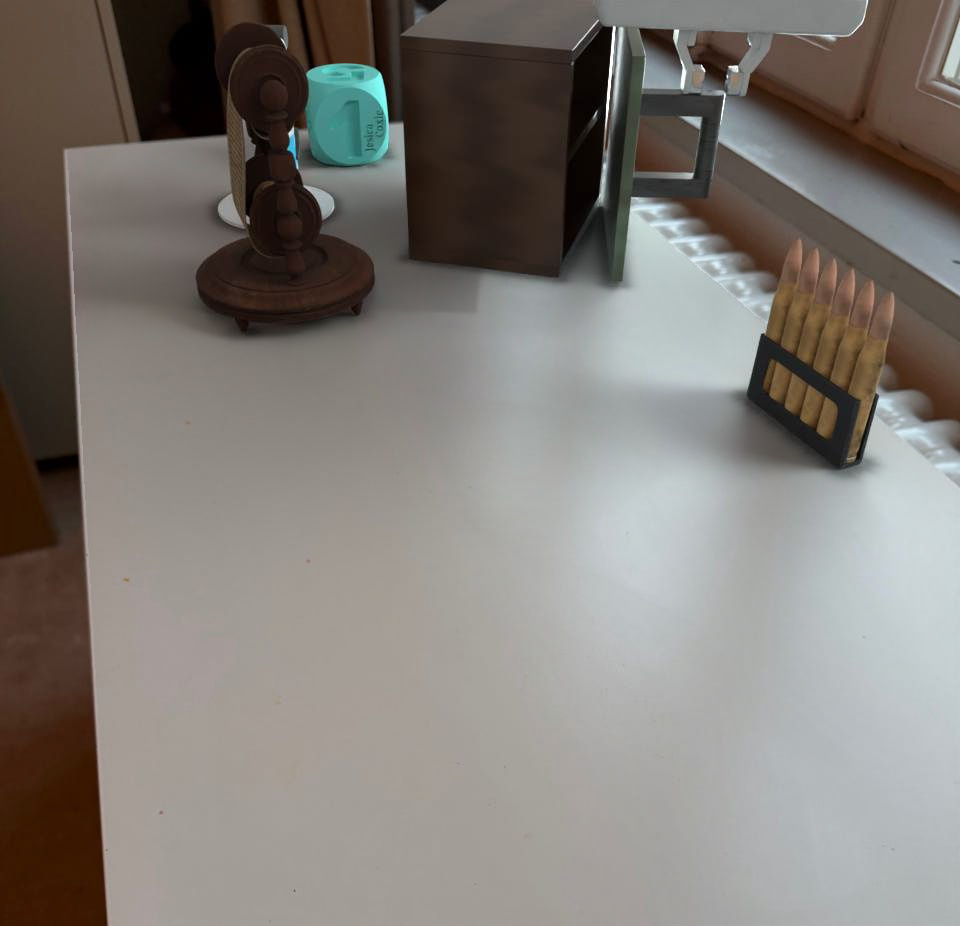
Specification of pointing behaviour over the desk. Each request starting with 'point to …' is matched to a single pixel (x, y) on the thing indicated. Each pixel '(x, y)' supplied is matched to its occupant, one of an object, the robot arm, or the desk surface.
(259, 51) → the dark brown piece
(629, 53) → the cupboard door
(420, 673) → the desk surface
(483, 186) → the cupboard
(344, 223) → the desk surface
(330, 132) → the decorative dice
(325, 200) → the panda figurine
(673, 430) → the desk surface
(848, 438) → the ammunition clip
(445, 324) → the desk surface
